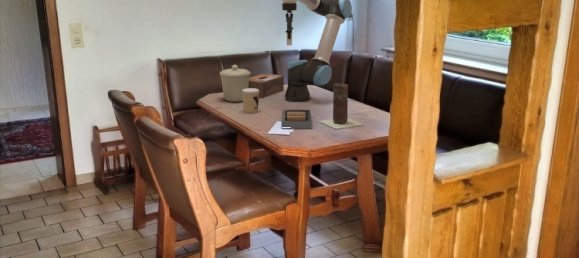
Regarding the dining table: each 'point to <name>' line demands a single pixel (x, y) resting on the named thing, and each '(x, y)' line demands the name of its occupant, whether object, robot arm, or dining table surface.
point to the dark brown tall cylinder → (340, 103)
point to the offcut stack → (296, 116)
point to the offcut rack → (296, 124)
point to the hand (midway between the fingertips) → (289, 43)
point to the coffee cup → (250, 100)
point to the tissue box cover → (267, 84)
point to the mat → (340, 126)
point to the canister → (234, 83)
